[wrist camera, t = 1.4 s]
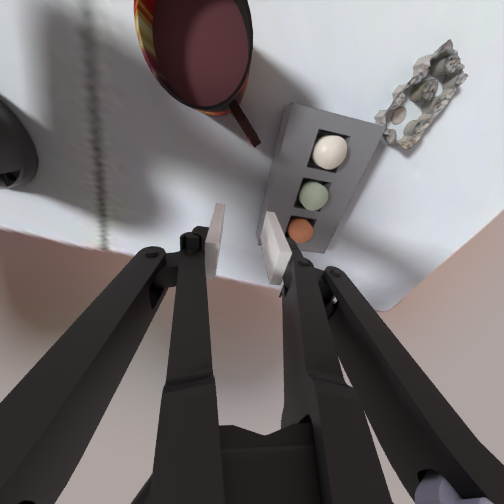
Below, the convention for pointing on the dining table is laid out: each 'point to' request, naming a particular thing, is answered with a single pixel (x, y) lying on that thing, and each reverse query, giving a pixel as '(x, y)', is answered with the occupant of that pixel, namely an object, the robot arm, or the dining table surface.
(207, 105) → the mug
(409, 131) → the egg carton
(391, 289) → the dining table surface
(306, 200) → the sage button
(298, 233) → the rust button
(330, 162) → the cream button
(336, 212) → the console
